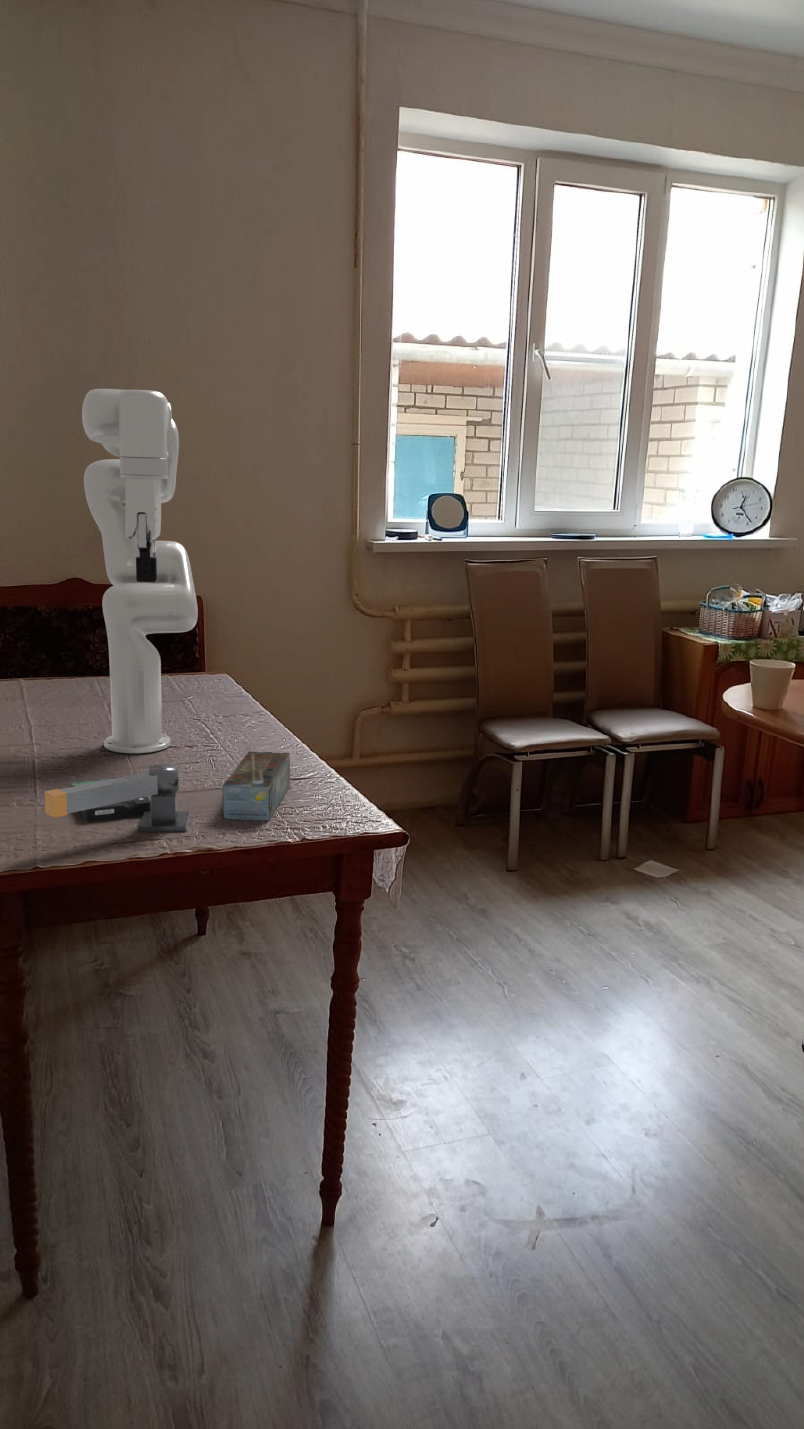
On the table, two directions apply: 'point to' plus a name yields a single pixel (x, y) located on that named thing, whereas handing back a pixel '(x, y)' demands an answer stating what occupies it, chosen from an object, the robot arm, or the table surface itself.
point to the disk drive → (115, 807)
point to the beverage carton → (256, 786)
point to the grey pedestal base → (164, 815)
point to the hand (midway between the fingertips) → (146, 581)
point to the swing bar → (112, 790)
